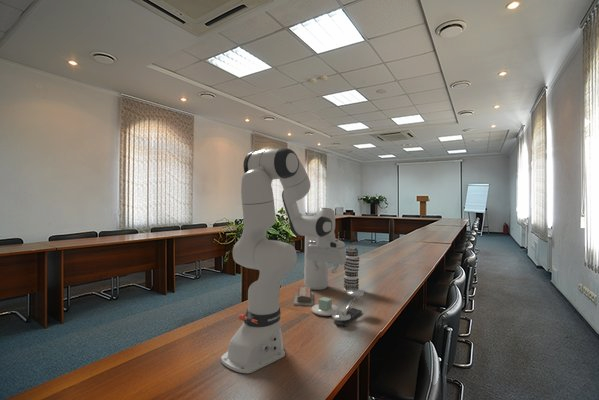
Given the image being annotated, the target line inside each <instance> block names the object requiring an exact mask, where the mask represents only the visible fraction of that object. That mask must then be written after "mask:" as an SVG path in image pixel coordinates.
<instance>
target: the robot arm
mask: <svg viewBox="0 0 599 400" xmlns="http://www.w3.org/2000/svg"><path fill="white" fill-rule="evenodd" d="M243 159H244V160H243V175H242V177H241V186H240V187H241V188H240V195H241V206H242V207H241V208H242V218H243V226H242V229H243V230H242V233H241V235H240V238H239V239H238V240H237V241H236V242H235V244H234V245H233V248H232V258H233V261H234V262H235V263H236V264H238V265H240V266H242V267H244V268H247V269H251V270H257V271H259V275H258V279H257V280H255V281H254V282H252V283H251V284H250V285H249V287H248V290H247V308H246V312H245V314H243V313H239V315H238V319H239V321H243V323H242V324H241V325H240V327H239V328H238V330H237V331H236V332H235V334H234V335H233V336H232V338H231V339H230V340H229V344H228V350H227V351H226V352H224V354H222V355H221V357H220V361H221V363H222V364H223V365H224V366H225V367H226V368H228V369H229V370H232V371H234V372H238V373H241V374H251V373H254V372H256V371H258V370H260V369H263V368H264V367H266V366H269V365H270V364H272V363H274V362H276V361H279V360H280V359H283V358H284V357H285V356H286V352H285V350H284V348H285V347H284V342H283V334H282V327H281V324H280V320H281V314H282V313H281V308H280V290H281V284H282V282H283V280H284V278H285V276H286V275H288V274H289V273H290V272H291V271H292V270H294V268H295V266H296V263H297V262H298V261H297V259H298V255H297V251H296V248H295V246H294V245H292V244H290V243H287V242H284V241H282V240H275V239H267V233H268V232H267V231H268V230H269V229H270V228H272V227H273V226H274V225H275V223H276V220H277V218H276V209H275V207H276V206H275V199H274V192H273V187H272V184H273V183H272V182H273V180H279V182H280V184H281V185H282V188H283V190H282V193H281V198H282V203H283V207H284V209H285V212H286V215H287V218H288V223H289V228H290V231H291V233H292V234H293V235H294V236H295V237H305V236H310V237H316V241H309V242H310V243H309V242H308V243H307V253H306V258H307V259H308V260H313V264H314V266H315V270H319V266H318V265H317V263H316V262H317V261H320V262H327V263H328V264H333V266H334V268H332V269H331V273H332V274H337V270H338V268H339V266H340V265H341V266H342V265H344V264H345V263H346V250H345V249H346V248H345V246H346V244H345V242H344V241H342V240H340V239H338V238H336V234H335V230H336V214H335V210H333V209H332V208H330V207H329V208H328V207H319V208H318V210H317V213H316V214H314V215H311V214H303V213H301V212H300V210H299V207H298V203H297V201H300V200H302V199H303V198H305V197H306V196H307V194H308V193H309V192H310V189H311V180H310V177H309V175H308V173H307V171H306V169H305V167H304V165H303V163H302V161H301V160H300V159H299V157H298V155H297V154H296V152H295V151H294V150H293V149H291V148H286V147H281V148H263V149H260V150H253V151H251V152H249V153H247V154H246V155H245V157H244V158H243Z"/></svg>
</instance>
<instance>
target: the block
mask: <svg viewBox="0 0 599 400" xmlns="http://www.w3.org/2000/svg"><path fill="white" fill-rule="evenodd" d="M332 302H333V299H332V298H329V297H326V296H323V297H320V298H319V299H318V304H319V309H320V310H324V311H328V310H330V309H331V308H332V305H333V303H332Z"/></svg>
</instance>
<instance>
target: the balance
mask: <svg viewBox="0 0 599 400" xmlns="http://www.w3.org/2000/svg"><path fill="white" fill-rule="evenodd" d="M364 294H365V291H364V290H363V289H362V290H361V289H360V288H359V289H349V290H347V292H346V295H348V296H351V297H352V298H351V300H350V301H349V302H348V304H347V305H346V307H345V309H344V311H339V312H334V313H333V314H332V316H331V319H333V324H334V325H337V326H340V327H346V326H348V324H350V323H351V322H352V321H354V320H355V319H356V318H357V317H358V316H360V315H361V314H362V312H363V310H362V309H358V308H355V307H352V305H353V303H354V301H355V300H356V298H357V297H362V296H364Z"/></svg>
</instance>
